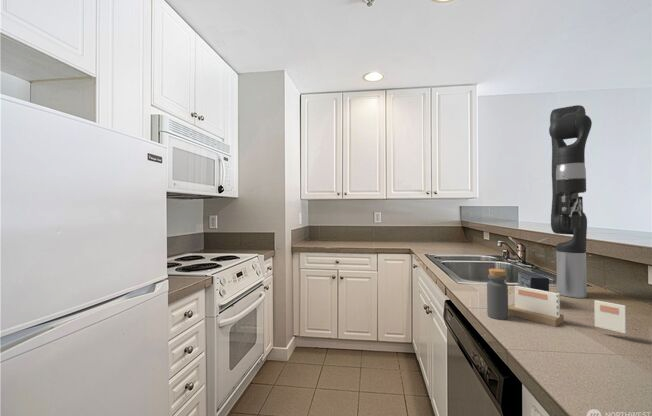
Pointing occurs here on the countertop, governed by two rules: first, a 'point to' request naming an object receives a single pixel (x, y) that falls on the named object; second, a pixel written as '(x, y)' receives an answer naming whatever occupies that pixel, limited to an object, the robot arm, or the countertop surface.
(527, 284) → the small box
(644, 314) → the countertop surface
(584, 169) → the robot arm
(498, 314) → the bottle
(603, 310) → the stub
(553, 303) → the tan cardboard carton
